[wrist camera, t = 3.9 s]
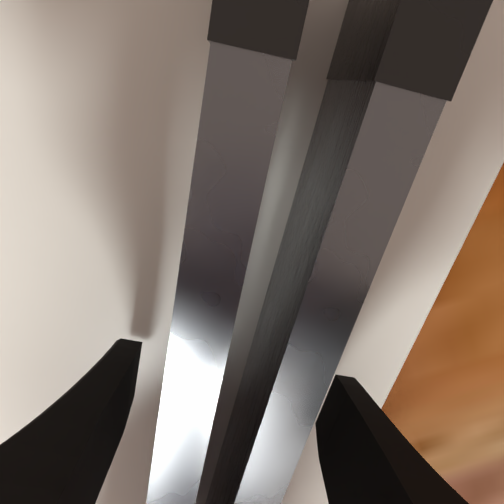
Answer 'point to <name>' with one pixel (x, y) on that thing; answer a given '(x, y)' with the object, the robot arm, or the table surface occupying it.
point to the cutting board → (175, 209)
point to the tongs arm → (220, 225)
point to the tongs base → (340, 225)
